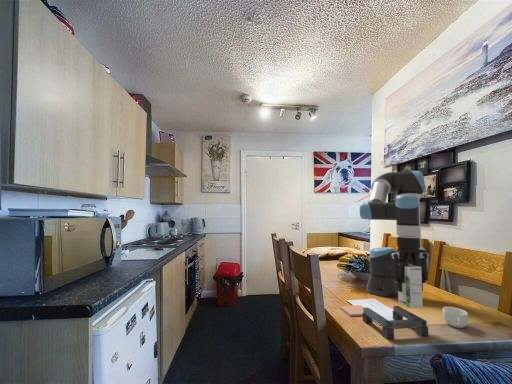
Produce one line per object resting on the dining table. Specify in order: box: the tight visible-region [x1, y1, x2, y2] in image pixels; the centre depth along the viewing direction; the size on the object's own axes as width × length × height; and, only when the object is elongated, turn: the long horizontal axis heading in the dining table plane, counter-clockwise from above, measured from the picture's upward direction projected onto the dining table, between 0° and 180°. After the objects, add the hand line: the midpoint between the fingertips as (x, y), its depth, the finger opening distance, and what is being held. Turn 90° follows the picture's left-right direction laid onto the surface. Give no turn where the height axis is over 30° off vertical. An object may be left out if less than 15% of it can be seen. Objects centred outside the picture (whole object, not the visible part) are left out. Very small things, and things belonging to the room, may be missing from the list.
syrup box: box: [398, 264, 424, 309], centre depth 94 cm, size 6×6×14 cm
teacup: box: [441, 306, 469, 329], centre depth 95 cm, size 10×8×5 cm
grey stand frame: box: [362, 305, 429, 340], centre depth 93 cm, size 16×14×5 cm
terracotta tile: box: [339, 304, 365, 317], centre depth 108 cm, size 10×9×1 cm
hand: (410, 300), depth 93 cm, fingers closed on syrup box, 6 cm apart
